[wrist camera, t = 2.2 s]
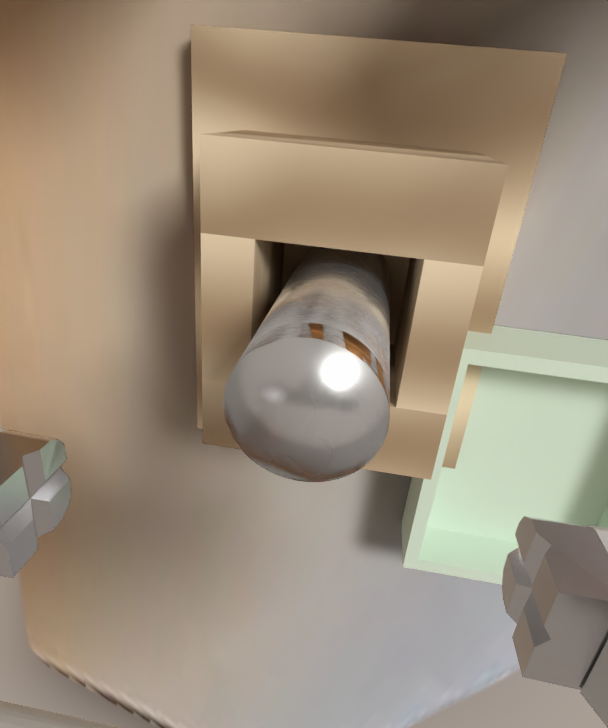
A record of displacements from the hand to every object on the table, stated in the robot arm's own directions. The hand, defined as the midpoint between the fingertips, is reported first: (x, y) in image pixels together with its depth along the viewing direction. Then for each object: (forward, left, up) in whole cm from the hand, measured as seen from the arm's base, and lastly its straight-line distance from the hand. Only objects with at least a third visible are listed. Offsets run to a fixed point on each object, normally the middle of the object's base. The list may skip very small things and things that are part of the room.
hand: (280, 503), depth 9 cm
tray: (+7, +9, -13) cm, 17 cm away
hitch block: (0, 0, -13) cm, 13 cm away
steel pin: (0, 0, -12) cm, 12 cm away
